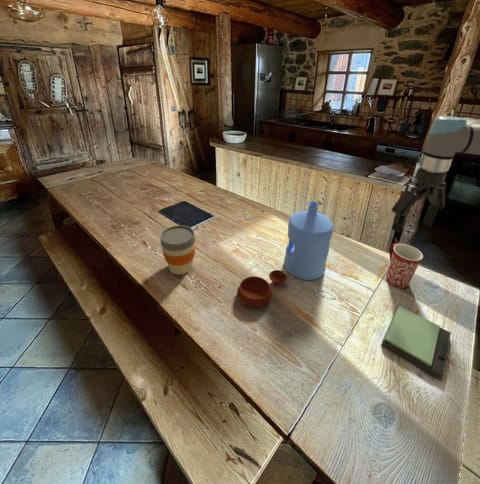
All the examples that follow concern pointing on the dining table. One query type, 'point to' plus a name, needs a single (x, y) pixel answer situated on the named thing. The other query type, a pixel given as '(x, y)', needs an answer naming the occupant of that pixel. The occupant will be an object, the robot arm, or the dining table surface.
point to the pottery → (259, 289)
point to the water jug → (308, 243)
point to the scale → (418, 341)
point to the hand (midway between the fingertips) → (411, 227)
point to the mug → (403, 264)
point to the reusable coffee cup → (178, 248)
